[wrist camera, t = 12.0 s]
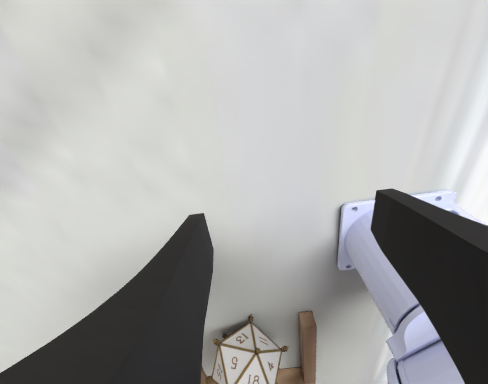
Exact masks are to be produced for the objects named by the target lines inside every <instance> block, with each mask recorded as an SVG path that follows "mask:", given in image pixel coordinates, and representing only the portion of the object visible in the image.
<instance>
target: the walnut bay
mask: <svg viewBox="0 0 488 384" xmlns="http://www.w3.org/2000/svg"><path fill="white" fill-rule="evenodd" d="M299 324H300V350H301V367H298V368H288V369H279V371H278V376H277V381H276V383H278V384H315V379H316V331H317V327H316V324H315V321H314V317H313V314H312V311H308V312H299ZM208 377H212V376H208ZM208 377H206V375H205V373H204V370H203V368H202V366H201V384H215V383H214V382H213V381H211V382H209V383H206V382H204V381H205V380H206V379H207V378H208Z"/></svg>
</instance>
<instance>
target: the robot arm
mask: <svg viewBox="0 0 488 384" xmlns="http://www.w3.org/2000/svg"><path fill="white" fill-rule="evenodd" d="M436 197H437V198H436ZM455 198H456V193H455V192H454V191H452V190H446V191H438V192H431V193H423V194H415V195H408V194H406V193H403V192H400V191H398V190H395V189H385V190H377V191H376V197H375V200H369V201H361V202H353V203H347V204H344V205H343V206H342V209H341V222H340V235H339V248H338V261H337V267H338V269H339V270H341V271H344V270H352V269H357V271H358V273H359V275H360V276H361V278H362V280H363V282H364V284H365V285H366V287H367V289H368V291H369V293H370V294H371V296H372V298H373V300H374V302H375V303H376V305H377V307H378V309H379V311H380V312H381V314H382V316H383V318H384V320H385V322H386V323H387V325H388V327H389V329H390V331H391V332H392V334H393V336H392V337H390V338H389V339H387V340H386V342H387V344H388V346H389V348H390V350H391V352H392V354H393V356H394V358H392V359H391V360H390V361H389V362H388V364H387V378H388V384H488V225H486V224H485V223H483V222H482V221H480V220H479V219H477V218H476V217H475V216H473V215H472V214H470V213H469V212H467V211H466V210H464V209H463V208H462V207H460V206H459V205H457V204H456V203H454V201H455ZM353 207H356V208H355V209H352V208H353ZM212 273H213V246H212V242H211V238H210V235H209V231H208V227H207V223H206V220H205V216H204V213H201V214H193V215H189V216H188V218H187V219H186V220H185V221H184V222H183V224H182V225H181V226H180V227H179V229H178V230H177V231H176V232H175V234H174V235H173V236H172V237H171V238H170V240H169V241H168V242H167V243H166V244H165V245H164V247H163V248H162V249H161V250H160V251H159V252H158V253H157V254H156V255H155V256H154V257H153V259H152V260H151V261H150V262H149V263H148V264H147V265H146V266H145V267H144V268H143V269H142V270H141V271H140V272H139V273H138V274H137V275H136V276H135V277H134V278H133V279H131V280H130V281H129V282H128V283H127V284H126V285H125V286H124V287H123V288H121V289H120V290H119V291H118V292H117V293H115V294H114V295H113V296H112V297H110V298H109V299H108V300H107V301H106V302H104V303H103V304H102V305H101V306H99V307H98V308H97V309H96V310H94V311H93V312H92V313H90V314H89V315H88V316H86V317H85V318H84V319H82V320H81V321H79V322H78V323H77V324H75V325H74V326H72V327H71V328H70V329H68V330H67V331H65V332H64V333H62V334H61V335H60V336H58V337H57V338H55V339H54V340H52V341H51V342H49V343H48V344H46V345H45V346H43V347H41V348H40V349H38V350H37V351H35V352H33V353H32V354H30V355H29V356H27V357H25V358H24V359H22V360H21V361H19V362H18V363H16V364H14V365H13V366H11V367H10V368H8V369H6V370H5V371H3V372H1V373H0V384H201V365H202V348H203V333H204V324H205V317H206V311H207V305H208V299H209V292H210V286H211V279H212Z"/></svg>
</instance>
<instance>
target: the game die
mask: <svg viewBox="0 0 488 384" xmlns="http://www.w3.org/2000/svg"><path fill="white" fill-rule="evenodd" d="M252 321H253V316H252V314H251V315H250V317H249V323H248V324H246V325H245V326H243V327H242V328H240V329H239V330H237V331H236V332H234V333H233V334H231V335H230V336H228V337H227V335H226V334H223V336H222V337H223V338H224V340H222V341H221V342H219V340H218V339H213V341H214V344H216V345H218V349H217V354H216V359H215V363H214V368H213V373H212V377H208V378H207V379H206V380H205V381H204V382H206V383H209V382H211V381H213V382H214V383H215V384H278V383H276V381H277V376H278V371H279V365H280V360H281V354H282V352H285V351H287V350H288V348H289V347H287V346H284V347H282V348H280V347H279V346H277V345H276V344H275V343H274V342H273V341H272V340H271V339H270V338H268V337H267V336H266V335H265V334H264V333H263V332H262V331H261V330H260V329H258V328H257V327H256V326H255V325H254V324H253V323H252Z"/></svg>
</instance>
